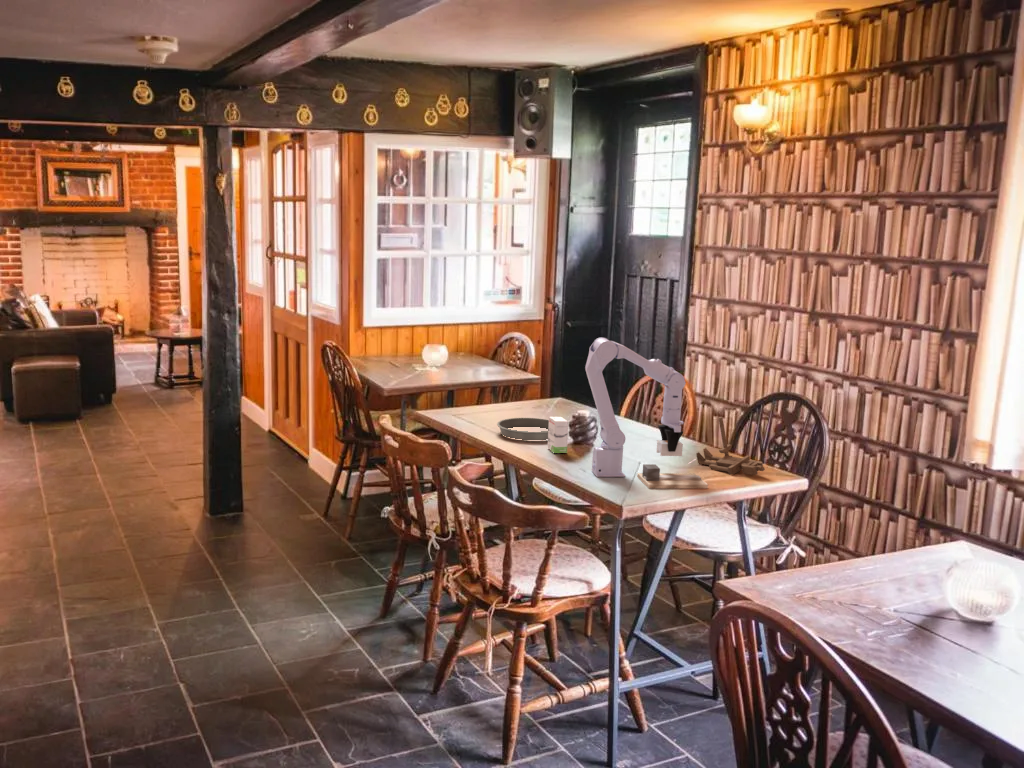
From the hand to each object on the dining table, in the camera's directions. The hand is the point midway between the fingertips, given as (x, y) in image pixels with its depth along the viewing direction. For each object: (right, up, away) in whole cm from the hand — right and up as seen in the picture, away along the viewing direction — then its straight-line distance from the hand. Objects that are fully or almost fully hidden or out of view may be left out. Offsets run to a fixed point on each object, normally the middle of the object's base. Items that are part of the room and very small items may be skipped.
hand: (669, 449), depth 308 cm
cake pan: (-45, +1, +50) cm, 67 cm away
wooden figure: (+21, -8, +9) cm, 25 cm away
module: (0, -2, 0) cm, 2 cm away
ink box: (-35, -3, +27) cm, 44 cm away
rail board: (0, -10, -8) cm, 13 cm away
